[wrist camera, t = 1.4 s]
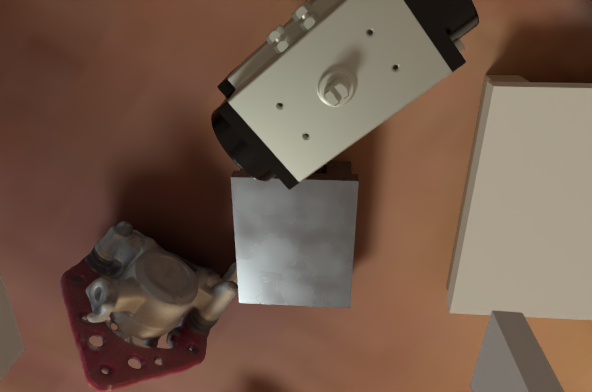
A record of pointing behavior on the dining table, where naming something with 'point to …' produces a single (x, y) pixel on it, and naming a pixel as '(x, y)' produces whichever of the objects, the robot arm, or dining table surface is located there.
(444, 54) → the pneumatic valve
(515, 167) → the stand cream
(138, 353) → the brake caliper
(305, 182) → the stand slate
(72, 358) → the dining table surface
